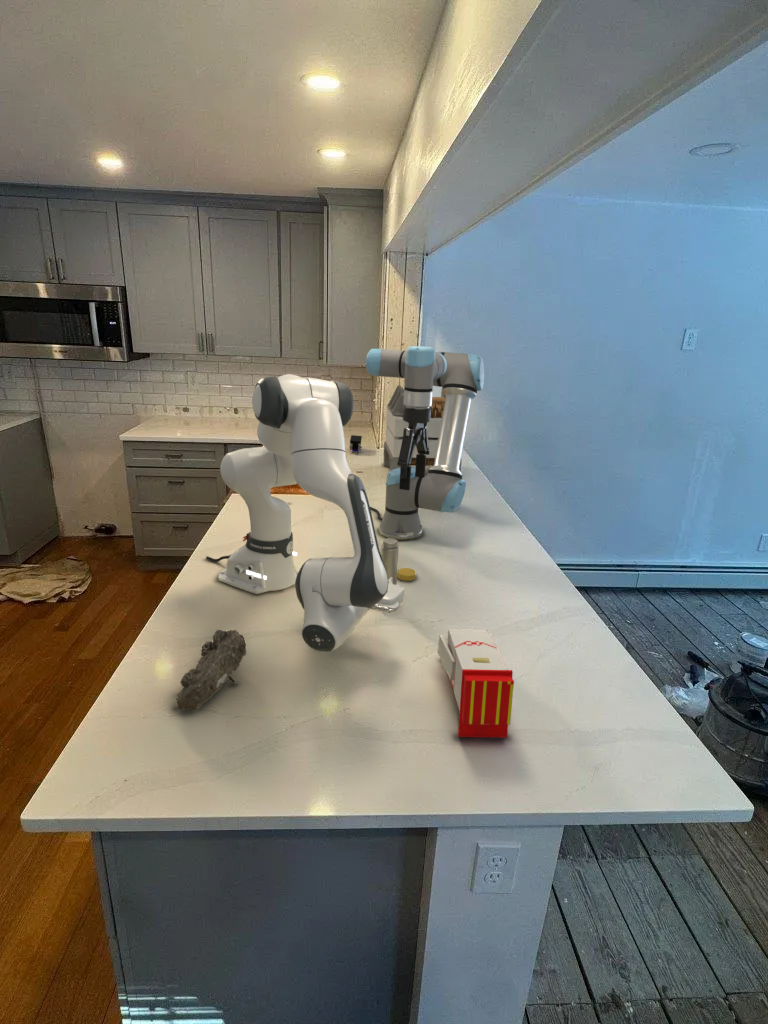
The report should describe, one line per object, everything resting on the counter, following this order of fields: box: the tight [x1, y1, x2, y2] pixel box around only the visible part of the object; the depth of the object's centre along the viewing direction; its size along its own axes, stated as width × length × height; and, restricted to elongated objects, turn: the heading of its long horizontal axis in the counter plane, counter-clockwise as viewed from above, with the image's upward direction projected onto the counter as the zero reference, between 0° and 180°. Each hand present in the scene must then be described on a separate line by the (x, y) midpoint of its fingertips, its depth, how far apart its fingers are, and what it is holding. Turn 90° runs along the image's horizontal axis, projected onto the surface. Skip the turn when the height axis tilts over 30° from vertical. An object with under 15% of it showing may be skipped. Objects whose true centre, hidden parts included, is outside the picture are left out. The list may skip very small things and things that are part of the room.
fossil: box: [175, 629, 247, 711], centre depth 117 cm, size 22×10×15 cm
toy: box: [437, 628, 515, 738], centre depth 117 cm, size 12×13×30 cm
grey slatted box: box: [383, 384, 463, 473], centre depth 268 cm, size 34×33×41 cm
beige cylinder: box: [380, 537, 400, 585], centre depth 149 cm, size 4×4×18 cm
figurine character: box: [349, 434, 363, 454], centre depth 310 cm, size 7×8×15 cm
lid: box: [397, 567, 416, 582], centre depth 168 cm, size 5×5×2 cm
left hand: (371, 575), depth 136 cm, fingers open, 8 cm apart
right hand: (412, 483), depth 158 cm, fingers open, 13 cm apart
